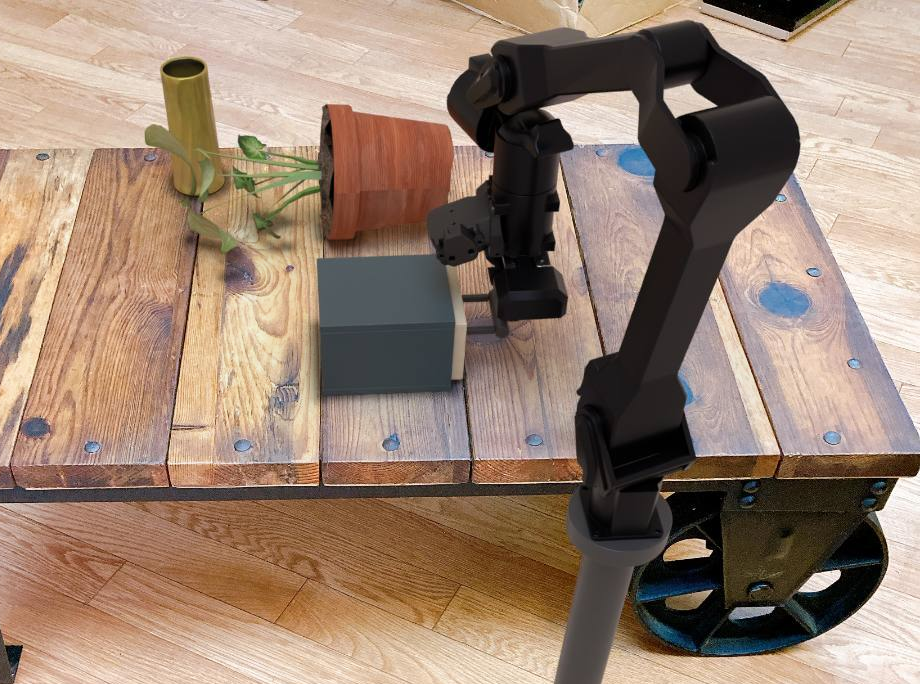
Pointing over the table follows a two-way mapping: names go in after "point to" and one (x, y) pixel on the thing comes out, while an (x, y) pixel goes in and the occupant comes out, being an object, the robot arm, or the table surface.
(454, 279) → the drawer
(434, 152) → the potted plant
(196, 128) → the vase
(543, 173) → the robot arm
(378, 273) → the cabinet
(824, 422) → the table surface
